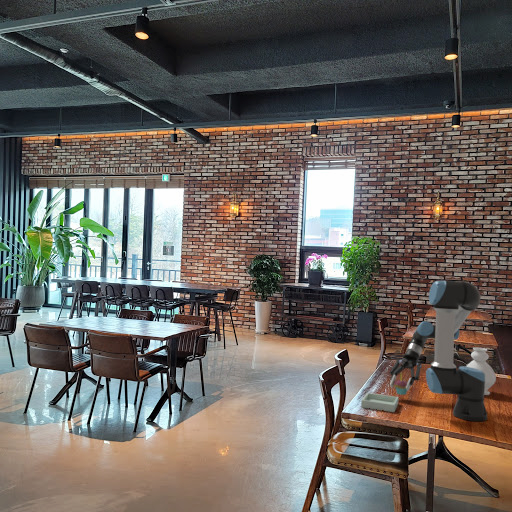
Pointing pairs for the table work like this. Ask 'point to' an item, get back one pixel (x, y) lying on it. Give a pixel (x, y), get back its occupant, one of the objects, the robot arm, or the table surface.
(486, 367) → the decorative vase
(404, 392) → the cupcake
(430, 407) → the table surface
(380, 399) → the tray
